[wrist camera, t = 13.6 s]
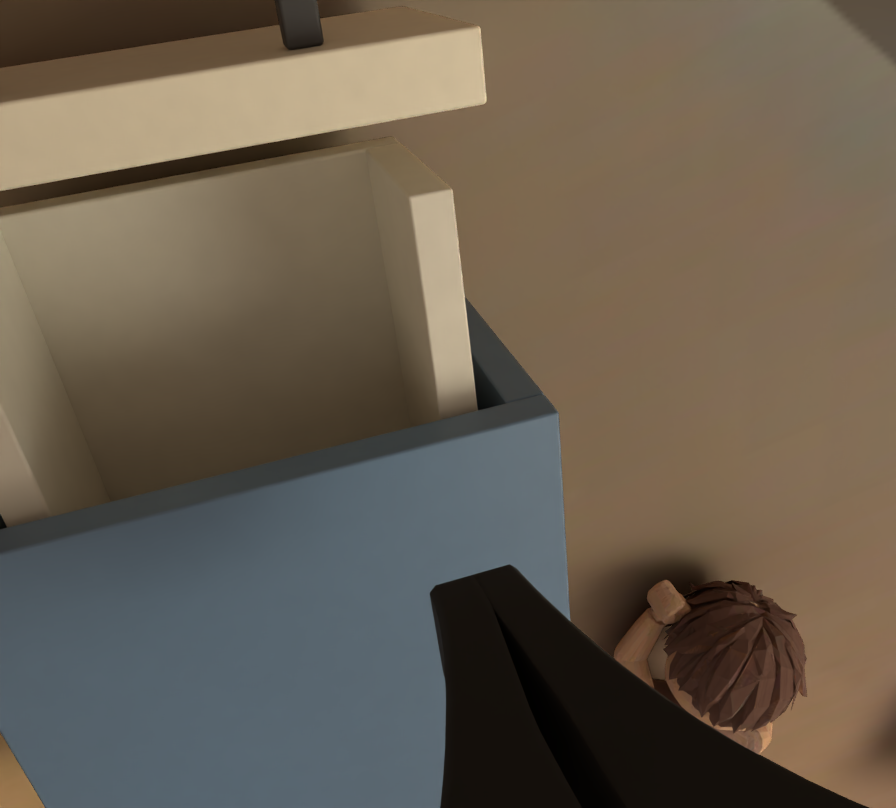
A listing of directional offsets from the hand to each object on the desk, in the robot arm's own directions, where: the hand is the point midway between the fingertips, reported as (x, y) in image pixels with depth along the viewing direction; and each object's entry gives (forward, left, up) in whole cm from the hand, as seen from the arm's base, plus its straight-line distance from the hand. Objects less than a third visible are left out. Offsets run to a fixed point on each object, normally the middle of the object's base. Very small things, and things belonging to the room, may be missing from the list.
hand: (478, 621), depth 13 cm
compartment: (-5, +3, -10) cm, 12 cm away
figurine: (-18, -9, -11) cm, 23 cm away
